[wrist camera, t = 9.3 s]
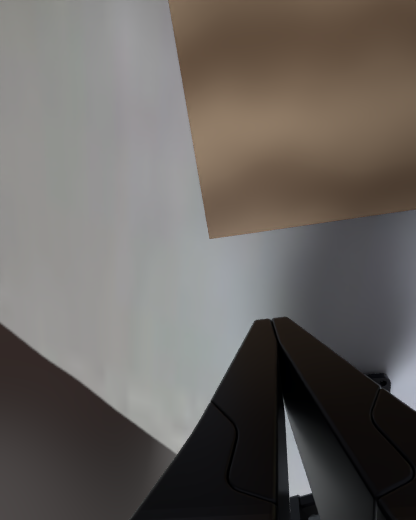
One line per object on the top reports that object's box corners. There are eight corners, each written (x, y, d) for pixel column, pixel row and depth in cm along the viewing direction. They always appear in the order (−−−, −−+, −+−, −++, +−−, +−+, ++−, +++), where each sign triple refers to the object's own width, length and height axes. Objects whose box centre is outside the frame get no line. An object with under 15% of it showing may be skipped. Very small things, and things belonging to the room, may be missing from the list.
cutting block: (447, 193, 18) (474, 201, 16) (211, 228, 19) (209, 238, 17) (488, -204, 12) (536, -264, 10) (153, -115, 13) (141, -154, 12)
